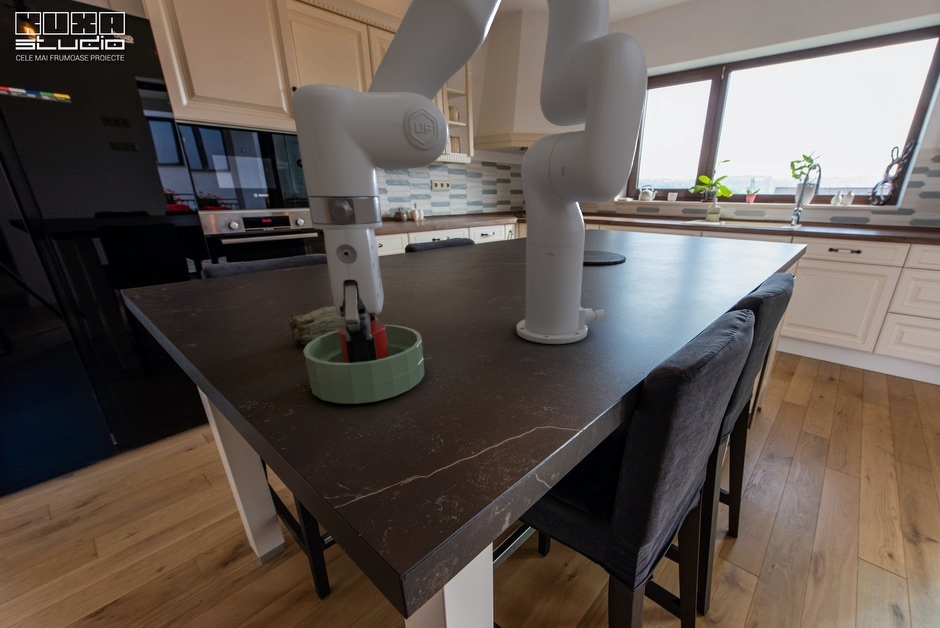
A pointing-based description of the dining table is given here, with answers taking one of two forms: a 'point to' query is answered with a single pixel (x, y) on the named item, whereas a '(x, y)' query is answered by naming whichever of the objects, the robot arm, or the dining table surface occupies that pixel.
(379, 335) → the red squat cylinder
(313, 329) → the olive rough flat block
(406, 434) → the dining table surface
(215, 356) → the dining table surface
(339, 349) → the sage green round tray
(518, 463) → the dining table surface
